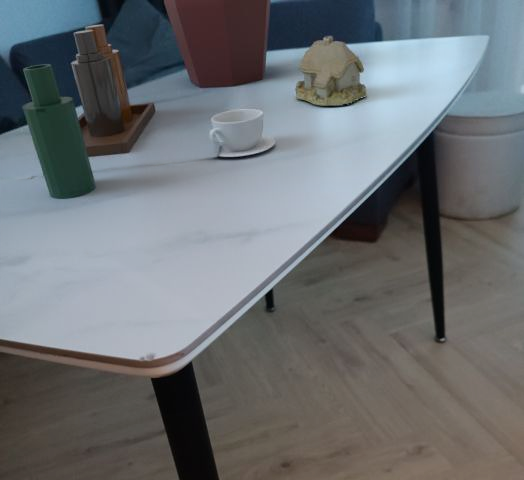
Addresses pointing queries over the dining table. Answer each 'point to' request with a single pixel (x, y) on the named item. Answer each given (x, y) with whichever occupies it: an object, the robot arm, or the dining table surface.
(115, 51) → the amber bottle
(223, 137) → the teacup
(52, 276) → the dining table surface
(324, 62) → the ceramic model
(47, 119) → the green bottle
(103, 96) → the gray bottle
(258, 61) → the bucket
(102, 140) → the tray
